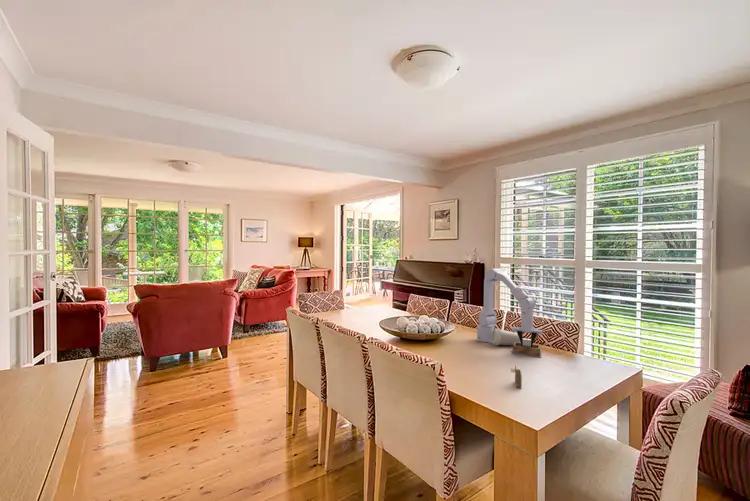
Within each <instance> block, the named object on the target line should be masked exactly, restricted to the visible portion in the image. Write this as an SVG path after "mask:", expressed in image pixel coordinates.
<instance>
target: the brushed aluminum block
mask: <svg viewBox="0 0 750 501" xmlns="http://www.w3.org/2000/svg"><path fill="white" fill-rule="evenodd" d="M523 347H530V348H531V338H524V337H523Z"/></svg>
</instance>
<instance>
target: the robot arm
mask: <svg viewBox="0 0 750 501" xmlns="http://www.w3.org/2000/svg"><path fill="white" fill-rule="evenodd" d="M496 282H502V283H503V284H505V286H506V287H507V288H508V289H509V290H510V291H511V295H512V296H513V298H515V300H516V301H517V302H518V305H519V308H520V312H521V313H520V314H521V319H520V320H521V321H520V323H521V324H520V327H517V326H512V328H511V332H516V333H517V334H518V336H519V339H520V342H521V346H523V338H524V337H523V334H524V333H527V334H530V335H531V336H530V337H531V338H530V339H531V347H532V346H533V344H534V342H535V339H536V337H537V336H538V335H543V330H542V329H537V328H534V308H535V307H536V305H537V303H536V300H535V298H534V297H533V296H532V297H531V296H529V295H528V294H527V293H526V292H525V291H524V288H523V287H520V286H516V284H515V283H514V282H513V280H512V279H511V278H510V276H509V275H508V272H507V271H506V270H505V269H504V268H499V267H498V268H492V267H491V268H488V269H486V271H485V277H484V279H483V309H482V310H481V311H480V312H479V317H478V323H479V324H477V328H476V329H477V330H476V332H477V334H476V336H477V337H476V342H483V343H490V344H494V343H493V342H492V331H493V330H494V329H495V325H496V324H497V322H498V318H497V313H496V311H495V310H494V291H495V289H494V288H495V287H494V286H495V284H496Z"/></svg>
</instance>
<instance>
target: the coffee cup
mask: <svg viewBox="0 0 750 501" xmlns="http://www.w3.org/2000/svg"><path fill="white" fill-rule="evenodd" d="M492 342H493V343H492V344H494V345H496V346H500V345H501V346H514V342H519V343H521V342H520V339H519V336H518V334H517V332H515V331H509V330H505V329H501V328H499V327H497V328H494V330H493V331H492Z"/></svg>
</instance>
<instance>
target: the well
mask: <svg viewBox="0 0 750 501" xmlns="http://www.w3.org/2000/svg"><path fill="white" fill-rule="evenodd" d="M512 346H513V348H512V350H513V352H514V353H522V354H529V355H537V356H540V351H541V345H540V344H536V343H535V344H534V343H533V346H532V347H531V348H530V347H523V346H521V343H519V342H514V345H512Z"/></svg>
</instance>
